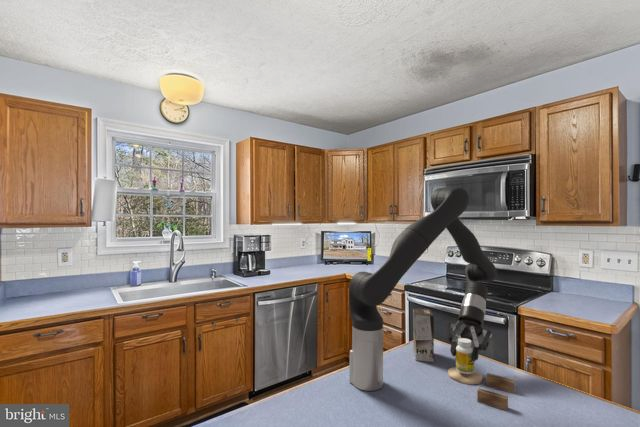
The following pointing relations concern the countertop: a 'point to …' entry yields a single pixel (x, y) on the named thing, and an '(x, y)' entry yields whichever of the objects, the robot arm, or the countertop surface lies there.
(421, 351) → the coffee box
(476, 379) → the trivet
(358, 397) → the countertop surface
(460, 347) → the supplement bottle
